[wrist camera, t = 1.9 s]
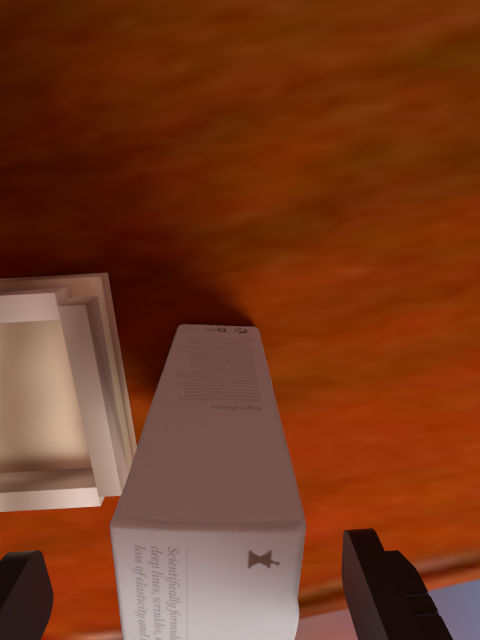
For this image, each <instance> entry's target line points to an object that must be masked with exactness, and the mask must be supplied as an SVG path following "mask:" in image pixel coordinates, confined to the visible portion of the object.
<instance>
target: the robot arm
mask: <svg viewBox="0 0 480 640" xmlns="http://www.w3.org/2000/svg"><path fill="white" fill-rule="evenodd" d="M342 582H343V588H344V593H345V597H346V601H347V604H348V608H349V611H350V614H351V617H352V621H353V624H354V627H355V631H356V634H357V637H358V640H453V639H452V637H451V635H450V633H449V631H448V629H447V627H446V625H445V623H444V621H443V619H442V618H441V616H439V614H438V610H437V608H436V606H435V604H434V602H433V600H432V598H431V597H430V596H429V594H428V591H427V589H426V587H425V585H424V583H423V581H422V579H421V577H420V575H419V573H418V571H417V570H416V568H415V567H414V566H413V565H412V564H411V563H410V562H409V561H408V560H407V559H406V558H405V557H404V556H403V555H402V554H401V553H400V552H399V551H398V550H397V551H384V549H383V546H382V544H381V542H380V540H379V538H378V536H377V534H376V532H375V530H374V529H372V528H370V529H355V530H345V531H344V534H343V554H342ZM52 606H53V590H52V586H51V583H50V579H49V575H48V572H47V568H46V565H45V561H44V557H43V554H42V552H41V551H23V552H10V553H8V554H6V555H5V556H4V557H3V558H2V560H1V561H0V640H41V637H42V635H43V633H44V630H45V628H46V626H47V623H48V621H49V618H50V615H51V611H52Z"/></svg>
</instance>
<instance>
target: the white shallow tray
mask: <svg viewBox="0 0 480 640" xmlns="http://www.w3.org/2000/svg"><path fill="white" fill-rule="evenodd" d="M136 450H137V445H136V439H135V433H134V427H133V421H132V415H131V409H130V403H129V397H128V391H127V385H126V379H125V373H124V367H123V361H122V355H121V349H120V343H119V337H118V331H117V325H116V319H115V313H114V307H113V301H112V295H111V289H110V283H109V277H108V273H92V274H74V275H56V276H38V277H20V278H2V279H0V512H6V511H23V510H41V509H58V508H75V507H93V506H101V504H102V501H103V499H104V497H105V496H121V494H122V491H123V489H124V486H125V483H126V480H127V478H128V475H129V472H130V469H131V465H132V462H133V458H134V455H135V452H136Z"/></svg>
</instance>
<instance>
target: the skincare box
mask: <svg viewBox="0 0 480 640" xmlns="http://www.w3.org/2000/svg"><path fill="white" fill-rule="evenodd" d="M305 532H306V522H305V517H304V513H303V508H302V504H301V500H300V496H299V492H298V488H297V483H296V479H295V475H294V471H293V467H292V463H291V459H290V455H289V451H288V447H287V443H286V440H285V436H284V432H283V428H282V424H281V420H280V416H279V412H278V408H277V404H276V400H275V396H274V392H273V387H272V383H271V379H270V375H269V371H268V366H267V363H266V358H265V354H264V350H263V346H262V342H261V338H260V334H259V331H258V328H256V327H248V326H221V325H193V324H192V325H191V324H182V325H180V326H178V328H177V330H176V333H175V336H174V339H173V342H172V345H171V348H170V351H169V354H168V357H167V360H166V364H165V367H164V369H163V372H162V375H161V378H160V380H159V383H158V386H157V389H156V392H155V395H154V398H153V401H152V404H151V407H150V410H149V413H148V416H147V419H146V422H145V425H144V428H143V431H142V434H141V437H140V440H139V443H138V446H137V450H136V452H135V455H134V458H133V462H132V465H131V469H130V472H129V475H128V478H127V480H126V483H125V486H124V489H123V491H122V494H121V497H120V500H119V502H118V505H117V508H116V510H115V513H114V515H113V518H112V520H111V522H110V533H111V543H112V551H113V559H114V567H115V576H116V585H117V594H118V603H119V612H120V621H121V629H122V637H123V640H294V638H295V635H296V631H297V625H298V620H299V606H298V600H297V596H298V589H299V581H300V573H301V565H302V557H303V548H304V539H305Z"/></svg>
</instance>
